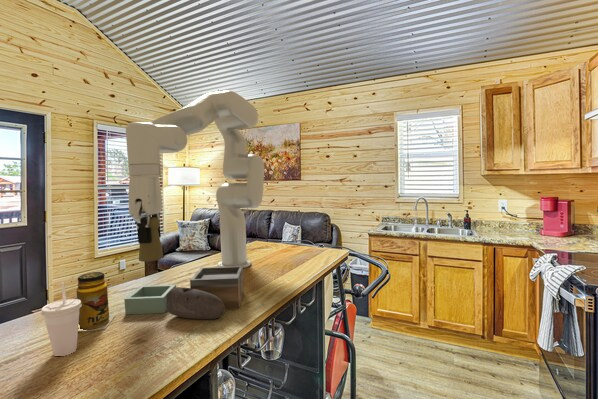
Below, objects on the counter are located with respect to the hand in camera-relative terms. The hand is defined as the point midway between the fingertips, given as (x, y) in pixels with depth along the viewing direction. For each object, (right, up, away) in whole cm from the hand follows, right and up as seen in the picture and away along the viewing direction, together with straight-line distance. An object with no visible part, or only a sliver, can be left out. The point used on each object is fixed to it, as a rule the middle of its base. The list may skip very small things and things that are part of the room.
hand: (149, 239), depth 84 cm
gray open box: (+18, -17, +3) cm, 25 cm away
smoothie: (-7, -20, -21) cm, 30 cm away
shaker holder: (0, -18, +1) cm, 18 cm away
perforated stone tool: (+15, -18, -6) cm, 24 cm away
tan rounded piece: (0, -5, 0) cm, 5 cm away
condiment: (-10, -19, -9) cm, 23 cm away
